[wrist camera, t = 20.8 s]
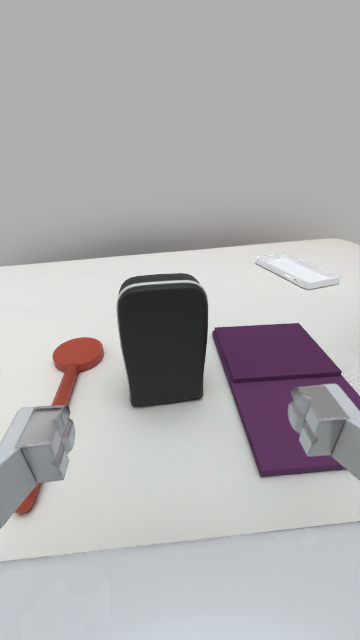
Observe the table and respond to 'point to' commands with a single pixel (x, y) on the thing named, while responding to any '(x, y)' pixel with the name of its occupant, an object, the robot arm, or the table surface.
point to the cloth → (276, 390)
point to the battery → (163, 337)
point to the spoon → (69, 380)
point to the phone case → (299, 271)
